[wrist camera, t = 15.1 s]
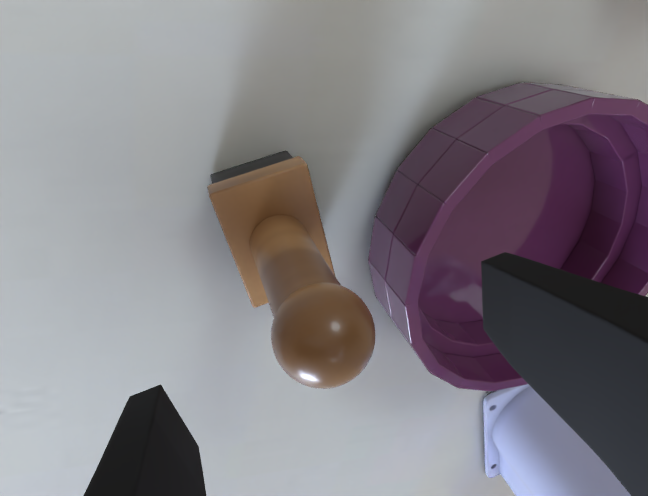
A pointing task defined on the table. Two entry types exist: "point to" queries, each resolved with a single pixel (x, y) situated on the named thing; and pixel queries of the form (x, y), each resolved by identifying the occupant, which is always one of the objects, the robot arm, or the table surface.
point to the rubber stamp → (292, 270)
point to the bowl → (509, 215)
